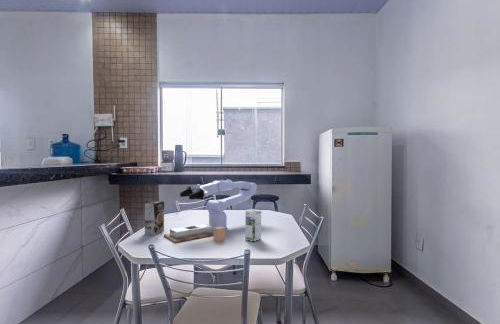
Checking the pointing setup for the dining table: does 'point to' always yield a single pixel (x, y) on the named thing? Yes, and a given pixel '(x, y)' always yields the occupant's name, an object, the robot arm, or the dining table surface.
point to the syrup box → (253, 225)
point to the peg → (219, 233)
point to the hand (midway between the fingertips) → (184, 196)
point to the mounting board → (188, 237)
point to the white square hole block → (191, 230)
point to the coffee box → (154, 217)
